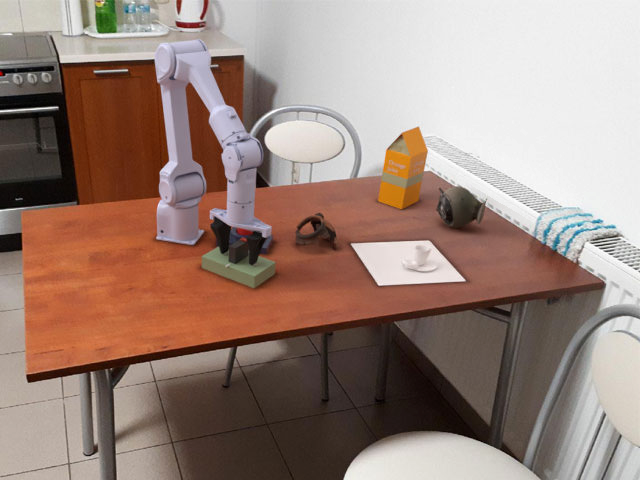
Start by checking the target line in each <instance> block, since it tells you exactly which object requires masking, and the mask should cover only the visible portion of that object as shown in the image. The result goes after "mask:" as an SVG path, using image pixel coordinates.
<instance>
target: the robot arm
mask: <svg viewBox="0 0 640 480" xmlns="http://www.w3.org/2000/svg"><path fill="white" fill-rule="evenodd" d="M153 55H154V65H155V74H156V82H157V84H159V85H160V93H161V101H162V109H163V111H162V112H163V119H164V127H165V137H166V144H167V145H166V146H167V153H168V162H167V163H166V164H165V165H164V166H163V168H161V170H160V171H159V184H158V193H159V196H160V198H161V199H160V200H159V202H158V204H157V208H156V230H157V231H156V233H157V235H156V237H155V239H156V240H157V241H162V242H170V243H175V244H181V245H188V246H195V245H196V243H197V242H198V241H199V240H200V238H201V237H202V235H203V234H204V233H205V230H204V229H199V227H200V226H199V224H200V223H199V221H200V220H199V219H200V218H199V217H200V215H199V208H200V207H199V206H200V205H199V203H200V202H202V198H203V197H204V196H205V195H206V194H207V193H206V192H207V187H208V186H207V180H206V178H205V175H204V171H203V166H202V165H200V164H199V163H198V162H196V161H195V160H193V149H192V141H191V140H192V139H191V132H190V131H191V130H190V121H189V112H188V101H187V100H188V99H187V92H186V88H187V86H188V84H189V83H190V84H191V85H192V87H193V88H194V89H195V91H196V93H197V94H198V96H199V97H200V99H201V101H202V102H203V104H204V105H205V107H206V108H207V110H208V112H209V117H208V124H209V126H210V127H211V129H212V131H213V133H214V135H215V137H216V139H217V141H218V143H219V144H220V147H221V148H222V150H223V152H222V153H221V161H222V164H223V167H224V175H225V178H226V179H227V186H226V192H227V193H226V209H221V208H217V207H214V208H212V209H210V210H209V220H212V221H213V222H211V223H210V224H209V227H210V229H211V231H212V232H213V234H214V236H215V239H216V240H217V242H218V245H219V249H220V253H221V254H224V253H226V252H228V251H229V242H230V232H231V229H232V227H236V228H242V229H246V230H249V231H252V232H253V234H251V235H249V236H247V238H246V239H247V242H248V246H249V264H250V265H253V264H255V263H256V262H257V260H258V257H259V256H260V255H261V254H260V251H261V249H262V247H263V245H264V243H265V241H266V240H267V238H268V237H269V236H270V235H272V230H273V228H272V227H273V226H271V225H269V224H267V223H265V222H264V221H262V220H260V219H259V218H258V217H256V216H255V206H256V205H255V204H256V203H255V202H256V200H255V199H256V185H257V167H260V166H261V165H262V163H263V161H264V149H263V147H262V144H261V142H260V140H259V139H258V138H256V137H254V136H252V133H248V132H247V129H246V128H245V126H244V124H243V123H242V121H241V119H240V117H239V115H238V113H237V111H236V109H235V108H234V107H233V106H231V105H227V104H226V102H225V100H224V97H223V95H222V93H221V91H220V89H219V86H218V83H217V81H216V79H215V77H214V74H213V72H212V69H211V64H212V55H211V53H210V52H209V49H208V46H207V44H206V42H205V41H204V40H202V39H200V38H196V39H192V40H183V41H172V42H161V43H160V44H159V45H158V46H157V47H156V50H155V51H154V54H153Z"/></svg>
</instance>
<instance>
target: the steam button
mask: <svg viewBox="0 0 640 480" xmlns="http://www.w3.org/2000/svg"><path fill="white" fill-rule="evenodd" d="M237 233H238V234H240V235H251V234H253V232H252V231H249V230H246V229H242V228H237Z"/></svg>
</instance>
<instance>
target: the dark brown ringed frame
mask: <svg viewBox="0 0 640 480" xmlns="http://www.w3.org/2000/svg"><path fill="white" fill-rule="evenodd" d="M309 223H310V225H311V227H312V229H313V232H311V233H309V234H302V233H300V232H301V231H300V230H302V228H303V227H304V226H306V225H307V224H309ZM294 233H295V243H296V244H297V245H300V246H310V245H317V246H320V242H319V241H320V238H322V239H323V238H325V240H326V241H332V242H333V246H334V250H337V249H338V235H337V232H336V230H335V227H334V226H333V225H332V223H331V222H330V221H328V220H326V219H325V216H324V214H323V213H322V212H317V213H315V214H314V215H309V216H306V217H304V218H303V219H301V220H300V221H299V222H298V223H297V224H296V230H295V232H294Z"/></svg>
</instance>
